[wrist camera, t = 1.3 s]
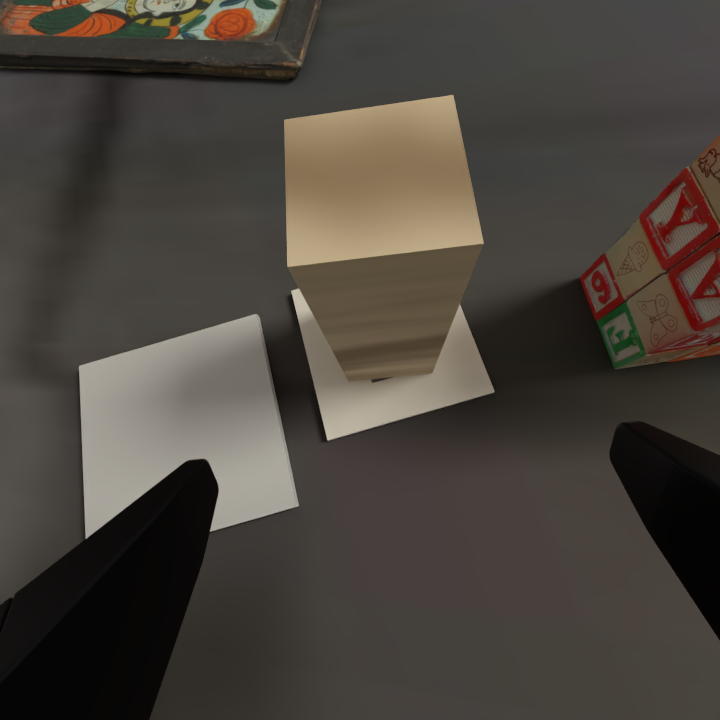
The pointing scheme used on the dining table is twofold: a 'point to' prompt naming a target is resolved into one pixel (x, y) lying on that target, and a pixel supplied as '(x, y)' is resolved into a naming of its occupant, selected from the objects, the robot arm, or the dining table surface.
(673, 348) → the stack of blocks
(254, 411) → the pad
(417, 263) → the maple block
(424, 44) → the dining table surface
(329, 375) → the tile
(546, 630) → the dining table surface
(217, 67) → the painting
